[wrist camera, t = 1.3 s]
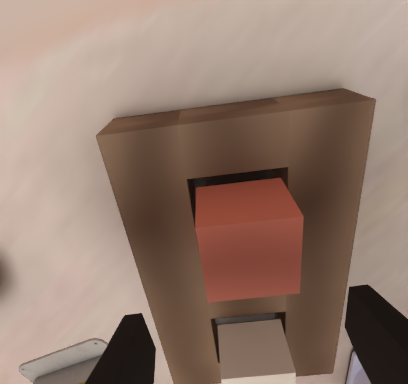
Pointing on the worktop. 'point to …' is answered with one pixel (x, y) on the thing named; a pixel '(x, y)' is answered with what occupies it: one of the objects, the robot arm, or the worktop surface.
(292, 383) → the off-white plunger
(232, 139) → the walnut plunger housing
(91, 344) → the emergency button
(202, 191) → the salmon red square block
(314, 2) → the worktop surface
